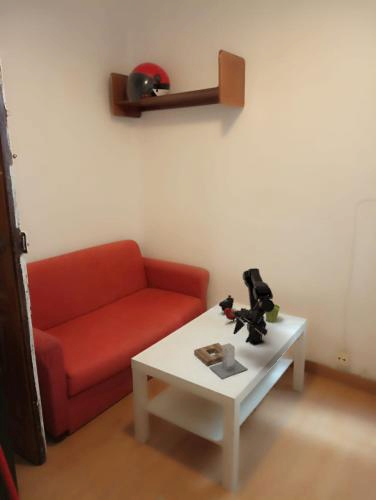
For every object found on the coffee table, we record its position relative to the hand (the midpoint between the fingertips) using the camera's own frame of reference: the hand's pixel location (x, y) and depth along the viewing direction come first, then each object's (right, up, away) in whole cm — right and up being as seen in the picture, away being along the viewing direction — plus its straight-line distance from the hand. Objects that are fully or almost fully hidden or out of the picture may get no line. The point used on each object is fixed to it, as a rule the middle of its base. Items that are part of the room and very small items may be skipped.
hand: (239, 338), depth 170 cm
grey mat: (-6, -13, -3) cm, 15 cm away
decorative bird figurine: (+4, -1, +45) cm, 45 cm away
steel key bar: (-6, -13, -3) cm, 14 cm away
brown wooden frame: (-12, -11, +8) cm, 18 cm away
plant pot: (+25, -1, +45) cm, 52 cm away
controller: (0, +2, +57) cm, 57 cm away
